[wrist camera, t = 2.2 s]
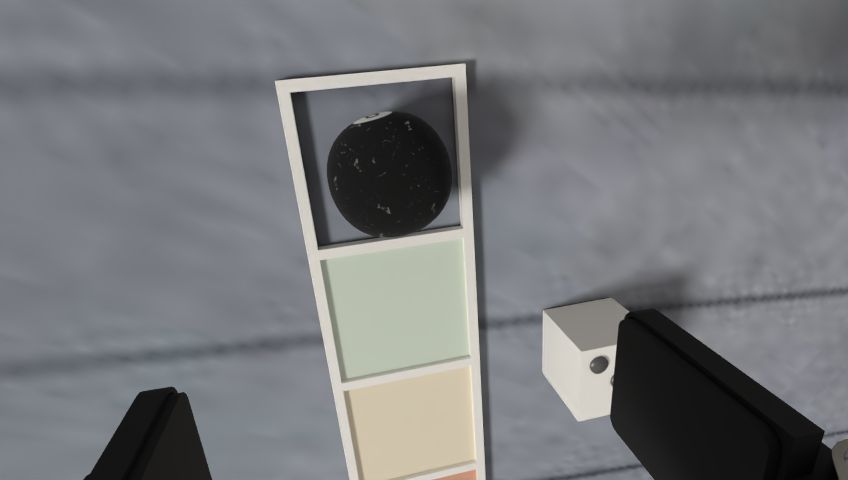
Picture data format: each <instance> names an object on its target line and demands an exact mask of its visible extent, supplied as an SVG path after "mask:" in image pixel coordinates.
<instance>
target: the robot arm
mask: <svg viewBox="0 0 848 480" xmlns="http://www.w3.org/2000/svg"><path fill="white" fill-rule="evenodd" d="M610 418H611V422H612V425H613V427H614V429H615V431H616V432H617V434H618V435H619V436H620V437H621V439H622V440H623V441H624V442H625V444H626V445H627V446H628V447H629V449H630V450H631V451H632V452H633V454H634V455H635V456H636V457H637V459H638V460H639V461H640V462H641V464H642V465H643V466H644V467H645V468H646V470H647V471H648V472H649V473H650V475H651V476H652V477H653V478H654V480H848V439H846V440H843V441H840V442H837V443H836V444H835V445H834V447H833V448H832V450H831V449H830V448H829V447H827V446H826V445H825V444H823V443H822V439H823V435H824V432H825V431H824V430H822V429H821V428H820V427H818V426H817V425H816V424H814V423H813V422H811V421H810V420H809V419H807V418H806V417H804V416H803V415H802V414H800V413H799V412H797V411H796V410H795V409H793V408H792V407H791V406H789V405H788V404H786V403H785V402H784V401H782V400H781V399H779V398H778V397H777V396H775V395H774V394H772V393H771V392H770V391H768V390H767V389H766V388H764V387H763V386H761V385H760V384H759V383H757V382H756V381H754V380H753V379H752V378H750V377H749V376H747V375H746V374H745V373H743V372H742V371H741V370H739V369H738V368H736V367H735V366H734V365H732V364H731V363H729V362H728V361H727V360H725V359H724V358H722V357H721V356H720V355H718V354H717V353H716V352H714V351H713V350H711V349H710V348H709V347H707V346H706V345H704V344H703V343H702V342H700V341H699V340H697V339H696V338H695V337H693V336H692V335H691V334H689V333H688V332H686V331H685V330H684V329H682V328H681V327H679V326H678V325H677V324H675V323H674V322H672V321H671V320H670V319H668V318H667V317H666V316H664V315H663V314H661V313H660V312H659V311H657V310H655V309H646V310H640V311H634V312H629V313H627V314H626V315H625V317H624V320H621V321H620V323H619V326H618V336H617V347H616V358H615V368H614V379H613V389H612V400H611V410H610ZM84 480H212V478H211V475H210V471H209V468H208V464H207V461H206V458H205V454H204V451H203V447H202V444H201V441H200V437H199V434H198V430H197V427H196V423H195V420H194V417H193V413H192V410H191V406H190V403H189V400H188V397H187V395H186V393H184V392H182V393H178V392H177V390H176V389H175V388H174V387H167V388H161V389H154V390H148V391H142V392H140V393H139V394H138V395H137V396H136V398H135V400H134V401H133V403H132V405H131V406H130V408H129V410H128V411H127V413H126V415H125V416H124V418H123V420H122V422H121V423H120V425H119V427H118V428H117V430H116V432H115V433H114V435H113V437H112V438H111V440H110V442H109V443H108V445H107V447H106V448H105V450H104V452H103V453H102V455H101V457H100V458H99V460H98V462H97V463H96V465H95V467H94V468H93V470H92V472H91V473H90V474H89V475H87V476H86V477H85V478H84Z"/></svg>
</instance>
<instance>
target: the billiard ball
mask: <svg viewBox="0 0 848 480" xmlns="http://www.w3.org/2000/svg"><path fill="white" fill-rule="evenodd" d="M327 178H328V184H329V189H330V192H331V195H332V198H333V200H334V202H335V204H336V206H337V208H338V210H339V211H340V213H341V214H342V215H343V217H344V218H345V219H346V220H347V221H348V222H349V223H350V224H351V225H353V226H354V227H355V228H357V229H358V230H360V231H362V232H364V233H366V234H369V235H373V236H377V237H400V236H405V235H408V234H411V233H414V232H416V231H418V230H420V229H422V228H424V227H425V226H427V225H428V224H430V223H431V222H432V221H433V220H434V219H435V218H436V217H437V216H438V215H439V214H440V213H441V211H442V210H443V208H444V207H445V205H446V203H447V200H448V198H449V194H450V190H451V184H452V171H451V164H450V159H449V156H448V153H447V150H446V148H445V146H444V144H443V142H442V140H441V139H440V137H439V136H438V134H437V133H436V132H435V131H434V129H433V128H432V127H431V126H430V125H428V124H427V123H426V122H425V121H423V120H422V119H420V118H418V117H416V116H413V115H411V114H407V113H403V112H380V113H375V114H371V115H369V116H366V117H363V118H361V119H359V120H357V121H355V122H354V123H352V124H351V125H349V126H348V127H347V128H346V129H345V130H343V131H342V133H341V134H340V135H339V136H338V137H337V139H336V140H335V142H334V143H333V145H332V148H331V150H330V153H329V157H328V163H327Z"/></svg>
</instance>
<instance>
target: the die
mask: <svg viewBox="0 0 848 480" xmlns="http://www.w3.org/2000/svg"><path fill="white" fill-rule="evenodd" d="M627 313H629V311H628V310H627V309H625V308H624V307H623V306H621V305H620V304H619V303H618V302H616V301H615V300H614V299H613V298H606V299H601V300H595V301H590V302H584V303H579V304H574V305H568V306H563V307H557V308H552V309H546V310H543V357H542V373H543V374H544V375H545V377H546V378H547V379H548V381H549V382H550V384H551V385H552V386H553V388H554V389H555V390H556V392H557V393H558V394H559V396H560V397H561V399H562V400H563V401H564V403H565V404H566V405H567V407H568V408H569V409H570V411H571V412H572V414H573V415H574V416H575V418H576V419H577V420H578V422H579V421H583V420H588V419H592V418H596V417H601V416H605V415H610V410H611V400H612V389H613V379H614V368H615V358H616V347H617V336H618V326H619V323H620V321H621V320H624V317H625V315H626V314H627Z"/></svg>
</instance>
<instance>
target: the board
mask: <svg viewBox="0 0 848 480" xmlns="http://www.w3.org/2000/svg"><path fill="white" fill-rule="evenodd" d="M447 77H452V86H453V103H454V120H455V137H456V154H457V171H458V188H459V205H460V222H461V226H454V227H447V228H440V229H434V230H427V231H420V232H414V233H411V234H408V235H405V236H400V237H380V238H373V239H367V240H360V241H353V242H346V243H340V244H333V245H326V246H320V247H318V244H317V238H316V233H315V227H314V221H313V216H312V210H311V204H310V199H309V193H308V188H307V182H306V176H305V171H304V165H303V159H302V154H301V148H300V143H299V137H298V131H297V126H296V120H295V114H294V109H293V103H292V98H291V92H301V91H312V90H322V89H332V88H343V87H353V86H364V85H374V84H385V83H395V82H406V81H416V80H427V79H437V78H447ZM275 85H276V90H277V95H278V101H279V106H280V111H281V117H282V122H283V127H284V133H285V138H286V143H287V149H288V154H289V159H290V165H291V170H292V175H293V181H294V186H295V191H296V197H297V202H298V207H299V212H300V218H301V223H302V228H303V234H304V239H305V244H306V250H307V255H308V260H309V266H310V271H311V276H312V282H313V287H314V292H315V298H316V303H317V308H318V314H319V319H320V324H321V330H322V335H323V340H324V346H325V351H326V356H327V362H328V367H329V372H330V378H331V383H332V388H333V394H334V399H335V404H336V409H337V415H338V420H339V425H340V431H341V436H342V441H343V447H344V452H345V457H346V463H347V468H348V473H349V479H350V480H486V478H485V458H484V437H483V416H482V396H481V375H480V354H479V334H478V313H477V292H476V272H475V251H474V230H473V210H472V189H471V168H470V148H469V127H468V106H467V86H466V65H465V64H453V65H442V66H431V67H420V68H409V69H398V70H387V71H376V72H365V73H354V74H343V75H332V76H321V77H310V78H299V79H288V80H277V81H275Z"/></svg>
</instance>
